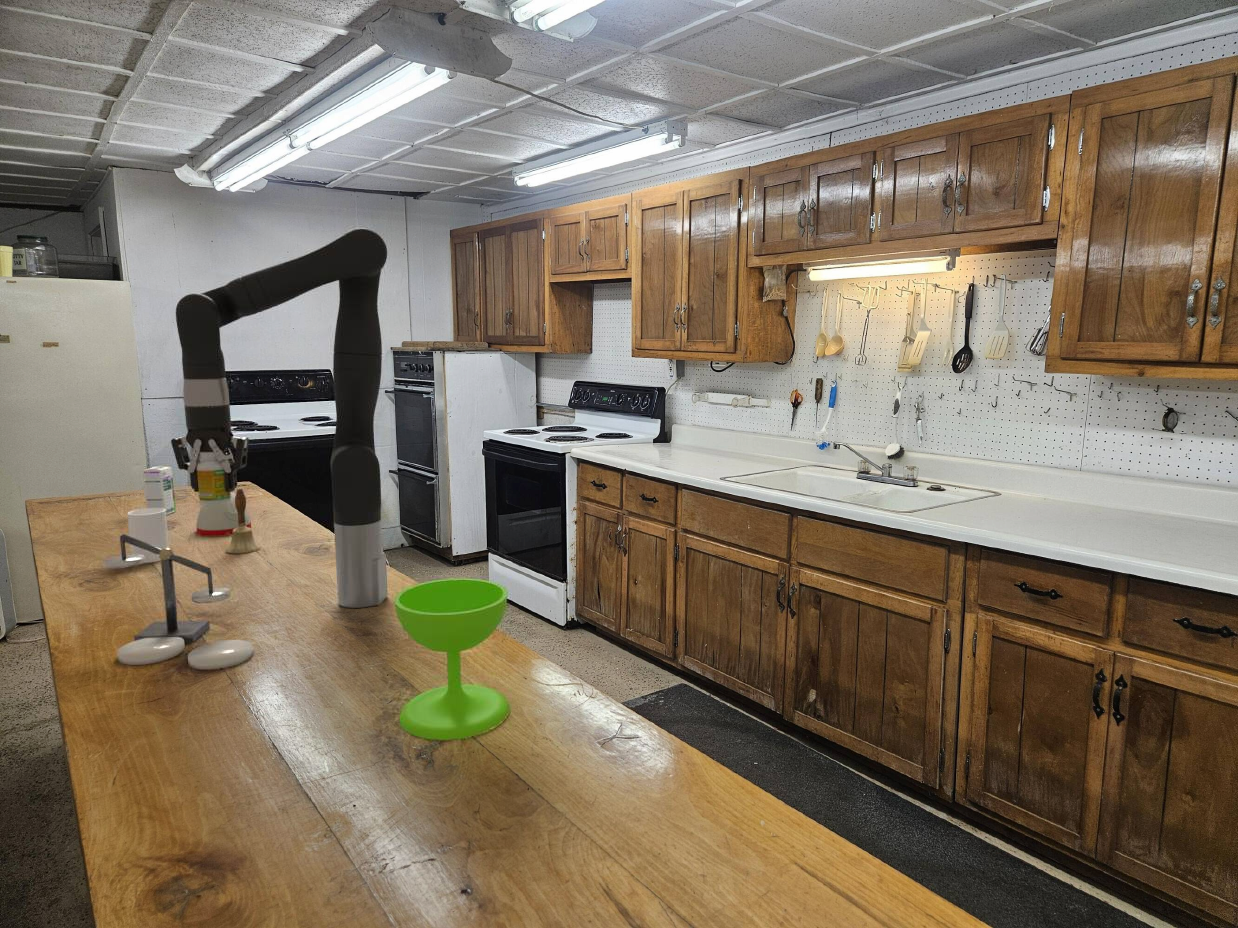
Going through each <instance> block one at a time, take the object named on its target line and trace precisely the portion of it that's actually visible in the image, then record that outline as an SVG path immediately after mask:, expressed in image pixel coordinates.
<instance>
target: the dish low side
mask: <svg viewBox="0 0 1238 928" xmlns="http://www.w3.org/2000/svg"><path fill="white" fill-rule="evenodd" d="M253 656H254V645H253V643H252V642H250V641H247V640H243V639H226V640H224V639H223V640H217V641H214V642H209V643H205V644H202V645H200V646H198V647H196V648H194V649H192V650H191V651H190V652H189V653H188V654H187V662H188V663H187V664H188V666H189V667H190V668H192V669H196V670H199V671H200V670H203V671H206V670H207V671H211V670H213V669H214V670H221V669H220V668H222V669H226V668H230V667H233V666H237V665H240V664H242V663H245V662H247V661H248V660H249V659H252V657H253Z"/></svg>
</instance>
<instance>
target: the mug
mask: <svg viewBox="0 0 1238 928" xmlns="http://www.w3.org/2000/svg"><path fill="white" fill-rule="evenodd" d="M167 521H168V520H167V515H166V510H165V509H163V508H147V507H146V508H140V509H139V508H137V509H133V510H130V511H128V512H127V522H128V533H129V534H128V535H129V536H130V537H133V538H135V539H138V540H140V541H143V542H145V543H148V544H150V545H153V546H155V547H158V548H161V549H163V548H170V544H169V534H168V533H169V532H168V523H167ZM130 554H141V555H144V556H145V562H144V563H143V564H148V563H149V564H151V563H156V562H161V559H160V558H159V556H158V555H157V554H154V553H152V552H149V551H147V550H144V549H142V548H139V547H137V546H134V545H131V544H130Z"/></svg>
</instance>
